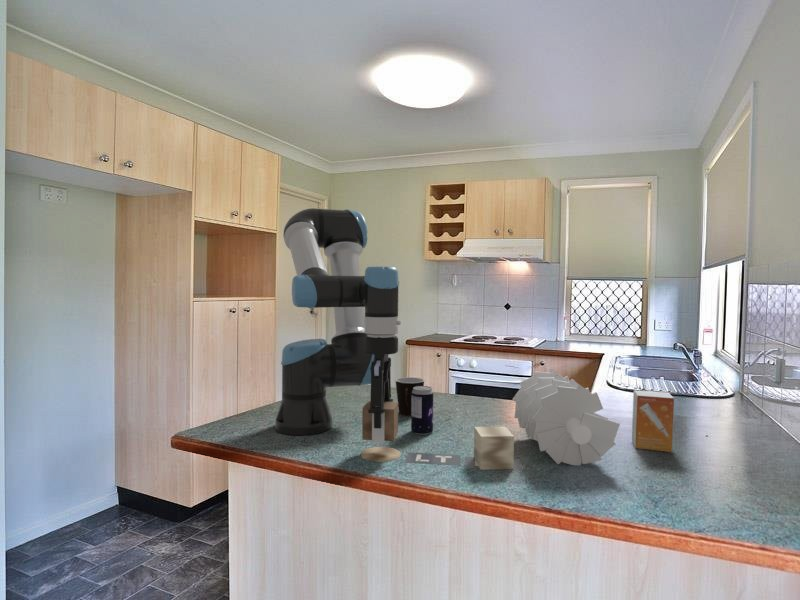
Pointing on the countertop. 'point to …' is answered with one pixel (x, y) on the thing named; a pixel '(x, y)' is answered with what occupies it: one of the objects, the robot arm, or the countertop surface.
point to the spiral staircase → (564, 418)
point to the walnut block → (390, 421)
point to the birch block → (493, 448)
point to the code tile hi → (472, 463)
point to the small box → (652, 420)
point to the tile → (433, 458)
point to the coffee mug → (406, 393)
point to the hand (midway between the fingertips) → (381, 436)
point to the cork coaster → (380, 454)
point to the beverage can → (422, 410)
